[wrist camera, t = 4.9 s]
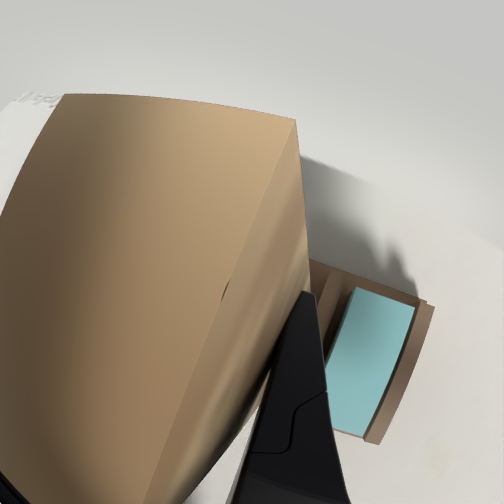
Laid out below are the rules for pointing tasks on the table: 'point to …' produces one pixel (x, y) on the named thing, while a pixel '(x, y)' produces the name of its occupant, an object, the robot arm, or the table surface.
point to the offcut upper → (364, 357)
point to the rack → (329, 311)
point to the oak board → (143, 293)
